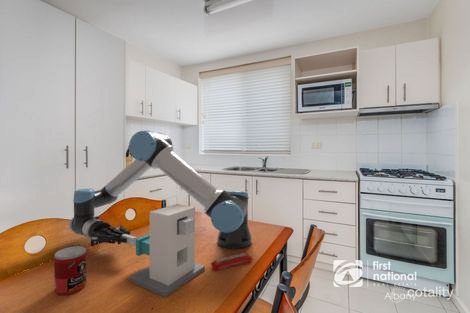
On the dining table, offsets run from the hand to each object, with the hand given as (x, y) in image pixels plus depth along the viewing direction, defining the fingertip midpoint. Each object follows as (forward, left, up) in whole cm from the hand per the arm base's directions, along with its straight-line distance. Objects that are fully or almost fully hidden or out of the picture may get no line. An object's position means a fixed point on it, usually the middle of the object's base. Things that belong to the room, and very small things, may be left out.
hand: (134, 241), depth 86 cm
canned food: (+10, +17, -8) cm, 22 cm away
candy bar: (-36, -2, -8) cm, 36 cm away
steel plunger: (-17, +8, +7) cm, 20 cm away
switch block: (-15, +7, -7) cm, 18 cm away
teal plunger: (-10, +5, -3) cm, 11 cm away
